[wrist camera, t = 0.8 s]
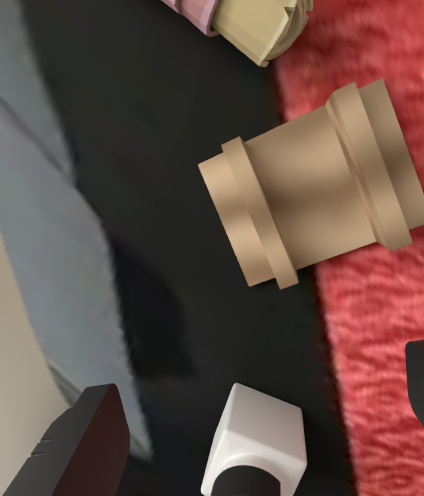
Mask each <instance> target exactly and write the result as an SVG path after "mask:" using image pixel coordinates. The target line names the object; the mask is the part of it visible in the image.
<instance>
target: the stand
mask: <svg viewBox="0 0 424 496" xmlns="http://www.w3.org/2000/svg"><path fill="white" fill-rule="evenodd" d="M221 147H222V149H223V151H224V153H222V154H219V155H217V156H215V157H213V158H211V159H209V160H207V161H205V162H202V163H200V164H198V166H199V169H200V171H201V173H202V176H203V178H204V180H205V183H206V185H207V188H208V190H209V192H210V195H211V197H212V199H213V202H214V204H215V207H216V209H217V211H218V214H219V216H220V218H221V221H222V223H223V226H224V228H225V230H226V233H227V235H228V237H229V240H230V242H231V245H232V247H233V249H234V252H235V254H236V256H237V259H238V261H239V263H240V266H241V268H242V271H243V273H244V275H245V278H246V280H247V282H248V285H249V287H250V286H252V285H255V284H258V283H261V282H264V281H267V280H269V279H272V278H276V280H277V283H278V285H279V287H280V289H283V288H285V287H288V286H291V285H294V284H297V283H299V282H298V277H297V272H296V270H297V269H300V268H303V267H306V266H309V265H312V264H314V263H317V262H320V261H323V260H326V259H328V258H331V257H334V256H337V255H340V254H342V253H345V252H348V251H351V250H354V249H357V248H359V247H362V246H365V245H368V244H371V243H373V242H378V243H380V244H381V245H383V246H384V247H386V248H388V249H389V250H391V251H393V250H396V249H399V248H401V247H404V246H407V245H410V244H413V241H412V238H411V236H410V233H409V230H410V229H413V228H416V227H418V226H421V225H424V194H423V191H422V188H421V185H420V182H419V179H418V177H417V174H416V171H415V168H414V165H413V162H412V160H411V157H410V154H409V151H408V148H407V145H406V143H405V140H404V137H403V134H402V131H401V128H400V126H399V123H398V120H397V117H396V114H395V111H394V109H393V106H392V103H391V100H390V97H389V94H388V92H387V89H386V86H385V83H384V80H383V78H381V79H378V80H376V81H374V82H372V83H370V84H368V85H366V86H364V87H361V88H359V89H357V86H356V84H355V81H354V82H352V83H350V84H348V85H346V86H344V87H342V88H340V89H338V90H336V91H334V92H332V94H331V96H330V97H329V99H328V101H327V102H326V104H325V105H323V106H321V107H319V108H317V109H315V110H313V111H311V112H308V113H306V114H304V115H302V116H300V117H298V118H296V119H294V120H292V121H289V122H287V123H285V124H283V125H281V126H279V127H277V128H275V129H272V130H270V131H268V132H266V133H264V134H262V135H260V136H258V137H255V138H253V139H251V140H249V141H247V142H244V141H243V140H242V139H241V138H240V137H237V138H235V139H233V140H231V141H229V142H227V143H225V144H223V145H221Z"/></svg>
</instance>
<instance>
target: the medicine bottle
mask: <svg viewBox="0 0 424 496" xmlns="http://www.w3.org/2000/svg"><path fill="white" fill-rule="evenodd" d="M306 466H307V458H306V448H305V438H304V428H303V418H302V410H301V409H300V408H299V407H297V406H294V405H292V404H289V403H287V402H284V401H282V400H279V399H277V398H274V397H272V396H269V395H267V394H264V393H262V392H259V391H257V390H254V389H252V388H249V387H247V386H244V385H242V384H239V383H235V384H234V385H233V388H232V390H231V393H230V396H229V398H228V401H227V404H226V406H225V409H224V412H223V414H222V417H221V420H220V422H219V425H218V428H217V430H216V433H215V436H214V440H213V444H212V447H211V451H210V455H209V459H208V463H207V467H206V471H205V475H204V479H203V483H202V487H201V492H202V494H203V495H205V496H293V494H294V492H295V490H296V488H297V486H298V483H299V481H300V479H301V477H302V475H303V473H304V471H305V469H306Z"/></svg>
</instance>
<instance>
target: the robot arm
mask: <svg viewBox="0 0 424 496" xmlns="http://www.w3.org/2000/svg"><path fill="white" fill-rule="evenodd" d="M405 355H406V371H407V387H408V397H409V401H410V404H411V407H412V409H413V411H414V413H415V415H416V417H417V418H418V420H419V421H420V422H421V423H422V425H423V426H424V340H417V341H410V342H408V343H407V344H406V347H405ZM129 448H130V433H129V428H128V424H127V421H126V417H125V413H124V409H123V405H122V402H121V398H120V394H119V391H118V388H117V386H116V385H115V384H113V383H112V384H105V385H98V386H91V387H87V388H86V389H85V390H84V391H83V393H82V394H81V396H80V398H79V399H78V401H77V402H76V404H75V405H74V407H73V408H70V409H67V410H66V411H65V412H64V413H63V414H62V415H61V416H60V417H58V418H57V419H56V420H55V421H54V422H53V423H52V424H51V425H50V427H49V428H48V430H47V431H46V432H45V434H44V436H43V437H42V439H41V442H40V443H38V444H37V446H36V447H35V449H34V450H33V452H32V453H31V457H29V458H28V459H27V460H26V462H25V464H24V465H23V466H22V468H21V469H20V471H19V472H18V474H17V475H16V477H15V478H14V480H13V481H12V482H11V484H10V485H9V487H8V488H7V490H6V491H5V493H4V494H3V496H115V494H116V491H117V488H118V485H119V482H120V479H121V475H122V472H123V469H124V466H125V463H126V460H127V457H128V454H129Z"/></svg>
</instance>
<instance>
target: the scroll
mask: <svg viewBox="0 0 424 496" xmlns="http://www.w3.org/2000/svg"><path fill="white" fill-rule="evenodd" d="M161 1H163V2H164V3H166V4H167V5H168V6H170V7H171V8H172V9H174V10H175V11H176V12H178V13H179V14H181V15H183V16H185V17H186V18H188V19H189V20H190V21H191V22H192V23H193V24H194V25H195V26H197V27H198V28H199V29H200V30H201V31H202V32H203V33H204V34H205V35H207V36H209V37H212V36H216V35H219V34H221V35H223V36H224V37H225V38H226V39H227V40H229V41H230V42H231V43H232V44H233V45H235V46H236V47H237V48H238V49H239V50H240V51H242V52H243V53H244V54H245V55H246V56H248V57H249V58H250V59H251V60H252V61H254V62H255V63H256V64H257V65H258V66H262V67H266V66H267V65H268V63H269V62H268V61H267V60H271V59H274V58H276V57H278V56H280V55H281V54H282V53H283V52H284V51H285V50H287V49H288V48H289V47H290V46H291V45H292V44H293V42H294V41H295V40H296V38H297V37H298V36H299V34H300V33H301V32H302V30H303V28H304V26H305V25H306V23H307V21H308V19H309V17H308V16H307V15H306V11H309V12H312V10H313V0H161Z"/></svg>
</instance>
